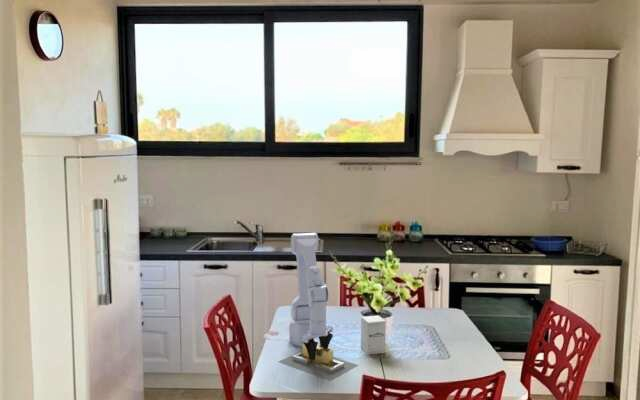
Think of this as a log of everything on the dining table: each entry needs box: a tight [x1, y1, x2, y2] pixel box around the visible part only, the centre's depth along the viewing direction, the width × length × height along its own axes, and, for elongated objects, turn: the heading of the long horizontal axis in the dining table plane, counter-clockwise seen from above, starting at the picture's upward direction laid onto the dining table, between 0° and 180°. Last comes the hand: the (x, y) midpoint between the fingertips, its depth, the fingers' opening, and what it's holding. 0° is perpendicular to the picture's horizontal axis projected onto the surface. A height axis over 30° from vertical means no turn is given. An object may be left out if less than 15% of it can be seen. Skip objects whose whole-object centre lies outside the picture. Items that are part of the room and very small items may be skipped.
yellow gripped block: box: [302, 344, 334, 367], centre depth 183 cm, size 12×3×6 cm, turn 50°
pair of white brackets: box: [293, 350, 344, 374], centre depth 183 cm, size 18×7×2 cm, turn 50°
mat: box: [277, 350, 359, 382], centre depth 183 cm, size 24×16×1 cm, turn 50°
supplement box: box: [360, 315, 387, 355], centre depth 195 cm, size 7×7×13 cm
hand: (317, 356), depth 183 cm, fingers open, 6 cm apart
